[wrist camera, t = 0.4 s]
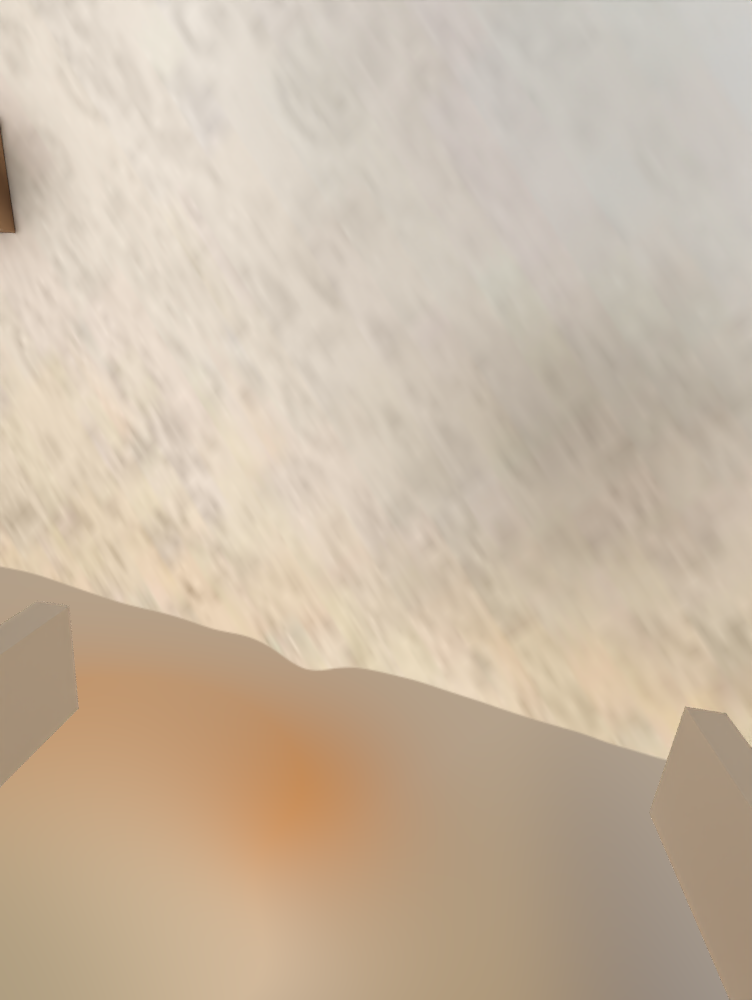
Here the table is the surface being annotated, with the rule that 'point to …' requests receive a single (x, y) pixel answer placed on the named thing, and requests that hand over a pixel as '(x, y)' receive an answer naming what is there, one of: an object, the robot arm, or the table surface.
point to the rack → (5, 197)
